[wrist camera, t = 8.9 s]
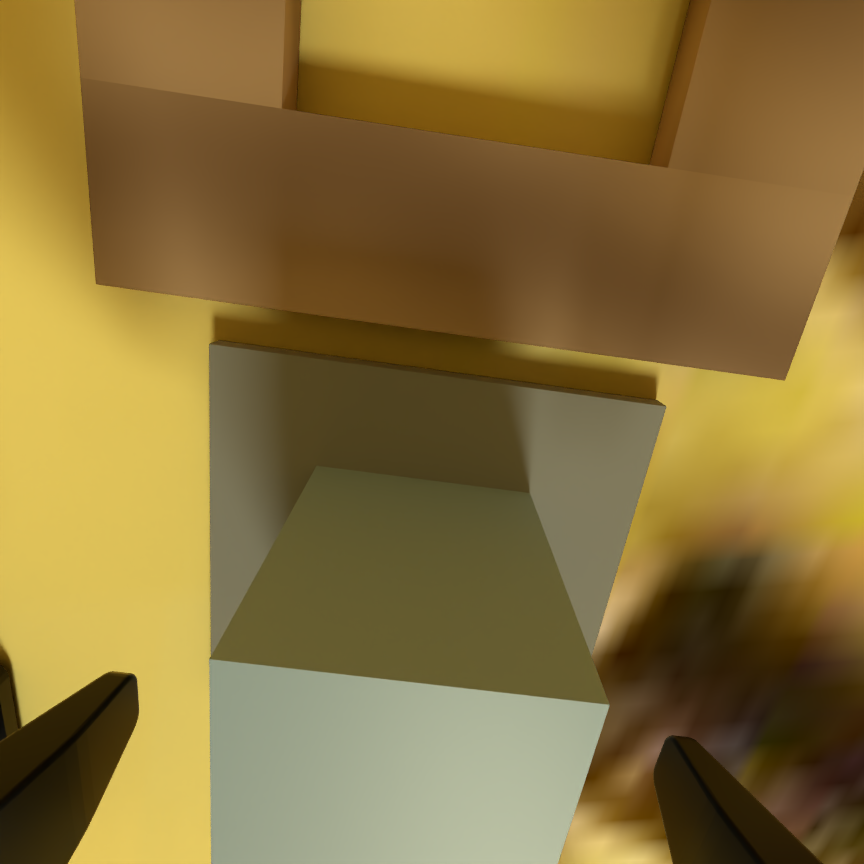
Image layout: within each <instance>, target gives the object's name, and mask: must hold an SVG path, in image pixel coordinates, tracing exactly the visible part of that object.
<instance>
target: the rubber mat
mask: <svg viewBox="0 0 864 864" xmlns="http://www.w3.org/2000/svg"><path fill="white" fill-rule="evenodd" d="M209 385H210V557H211V656H212V654H213V652H214V650H215V648H216V647H217V645H218V643H219V641H220V639H221V637H222V636H223V634H224V632H225V630H226V628H227V627H228V625H229V623H230V621H231V619H232V618H233V616H234V614H235V612H236V610H237V609H238V607H239V605H240V603H241V601H242V600H243V598H244V596H245V594H246V592H247V591H248V589H249V587H250V585H251V583H252V582H253V580H254V578H255V576H256V574H257V573H258V571H259V569H260V567H261V565H262V563H263V562H264V560H265V558H266V556H267V554H268V553H269V551H270V549H271V547H272V545H273V544H274V542H275V540H276V538H277V536H278V535H279V533H280V531H281V529H282V527H283V526H284V524H285V522H286V520H287V518H288V517H289V515H290V513H291V511H292V509H293V508H294V506H295V504H296V502H297V500H298V498H299V497H300V495H301V493H302V491H303V489H304V488H305V486H306V484H307V482H308V480H309V479H310V477H311V475H312V473H313V471H314V470H315V468H316V466H323V467H330V468H338V469H346V470H354V471H362V472H370V473H377V474H385V475H393V476H401V477H409V478H416V479H424V480H432V481H440V482H448V483H455V484H463V485H471V486H479V487H487V488H494V489H502V490H510V491H518V492H526V493H530V495H531V497H532V500H533V503H534V505H535V508H536V511H537V513H538V516H539V519H540V521H541V524H542V527H543V529H544V532H545V535H546V537H547V540H548V542H549V545H550V548H551V550H552V553H553V556H554V558H555V561H556V564H557V566H558V569H559V572H560V574H561V577H562V580H563V582H564V585H565V588H566V590H567V593H568V596H569V598H570V601H571V604H572V606H573V609H574V612H575V614H576V617H577V620H578V622H579V625H580V628H581V630H582V633H583V636H584V638H585V641H586V644H587V646H588V649H589V651H590V654H591V656H592V653H593V649H594V646H595V643H596V639H597V636H598V633H599V629H600V626H601V623H602V619H603V616H604V613H605V609H606V606H607V603H608V599H609V596H610V593H611V589H612V586H613V583H614V579H615V576H616V573H617V569H618V566H619V563H620V559H621V556H622V553H623V549H624V546H625V543H626V539H627V536H628V533H629V529H630V526H631V523H632V519H633V516H634V513H635V509H636V506H637V503H638V499H639V496H640V493H641V489H642V486H643V483H644V479H645V476H646V473H647V469H648V466H649V463H650V459H651V456H652V453H653V449H654V446H655V443H656V439H657V436H658V433H659V429H660V426H661V423H662V419H663V416H664V413H665V409H666V406H665V405H663V404H662V403H660V402H659V401H658V400H651V399H644V398H637V397H630V396H622V395H615V394H608V393H600V392H593V391H586V390H578V389H571V388H564V387H557V386H549V385H542V384H535V383H527V382H520V381H513V380H505V379H498V378H491V377H484V376H476V375H469V374H462V373H454V372H447V371H440V370H433V369H425V368H418V367H411V366H403V365H396V364H389V363H381V362H374V361H367V360H360V359H352V358H345V357H338V356H330V355H323V354H316V353H308V352H301V351H294V350H287V349H279V348H272V347H265V346H257V345H250V344H243V343H235V342H228V341H221V340H218V341H215V342H213V343H211V344H209Z"/></svg>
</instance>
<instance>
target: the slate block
mask: <svg viewBox="0 0 864 864" xmlns="http://www.w3.org/2000/svg"><path fill="white" fill-rule="evenodd" d="M209 664H210V777H211V864H558V862H559V859H560V856H561V852H562V849H563V846H564V843H565V840H566V837H567V834H568V831H569V828H570V825H571V822H572V819H573V816H574V813H575V809H576V806H577V803H578V800H579V797H580V794H581V791H582V788H583V785H584V782H585V779H586V776H587V773H588V770H589V766H590V763H591V760H592V757H593V754H594V751H595V748H596V745H597V742H598V739H599V736H600V733H601V730H602V727H603V724H604V720H605V717H606V714H607V711H608V708H609V702H608V699H607V697H606V694H605V691H604V689H603V686H602V683H601V681H600V678H599V675H598V673H597V670H596V667H595V665H594V662H593V659H592V657H591V654H590V651H589V649H588V646H587V644H586V641H585V638H584V636H583V633H582V630H581V628H580V625H579V622H578V620H577V617H576V614H575V612H574V609H573V606H572V604H571V601H570V598H569V596H568V593H567V590H566V588H565V585H564V582H563V580H562V577H561V574H560V572H559V569H558V566H557V564H556V561H555V558H554V556H553V553H552V550H551V548H550V545H549V542H548V540H547V537H546V535H545V532H544V529H543V527H542V524H541V521H540V519H539V516H538V513H537V511H536V508H535V505H534V503H533V500H532V497H531V495H530V493H526V492H518V491H510V490H502V489H494V488H487V487H479V486H471V485H463V484H455V483H448V482H440V481H432V480H424V479H416V478H409V477H401V476H393V475H385V474H377V473H370V472H362V471H354V470H346V469H338V468H330V467H323V466H316V468H315V470H314V471H313V473H312V475H311V477H310V479H309V480H308V482H307V484H306V486H305V488H304V489H303V491H302V493H301V495H300V497H299V498H298V500H297V502H296V504H295V506H294V508H293V509H292V511H291V513H290V515H289V517H288V518H287V520H286V522H285V524H284V526H283V527H282V529H281V531H280V533H279V535H278V536H277V538H276V540H275V542H274V544H273V545H272V547H271V549H270V551H269V553H268V554H267V556H266V558H265V560H264V562H263V563H262V565H261V567H260V569H259V571H258V573H257V574H256V576H255V578H254V580H253V582H252V583H251V585H250V587H249V589H248V591H247V592H246V594H245V596H244V598H243V600H242V601H241V603H240V605H239V607H238V609H237V610H236V612H235V614H234V616H233V618H232V619H231V621H230V623H229V625H228V627H227V628H226V630H225V632H224V634H223V636H222V637H221V639H220V641H219V643H218V645H217V647H216V648H215V650H214V652H213V654H212V656H211V657H210V659H209Z"/></svg>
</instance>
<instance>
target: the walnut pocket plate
mask: <svg viewBox="0 0 864 864" xmlns="http://www.w3.org/2000/svg"><path fill="white" fill-rule="evenodd" d="M75 13H76V26H77V39H78V53H79V66H80V79H81V92H82V105H83V119H84V132H85V145H86V158H87V172H88V185H89V198H90V211H91V224H92V238H93V251H94V264H95V277H96V284H98V285H105V286H113V287H120V288H127V289H134V290H141V291H148V292H156V293H163V294H170V295H177V296H184V297H191V298H199V299H206V300H213V301H220V302H227V303H234V304H241V305H249V306H256V307H263V308H270V309H277V310H284V311H292V312H299V313H306V314H313V315H320V316H327V317H335V318H342V319H349V320H356V321H363V322H370V323H377V324H385V325H392V326H399V327H406V328H413V329H420V330H428V331H435V332H442V333H449V334H456V335H463V336H471V337H478V338H485V339H492V340H499V341H506V342H514V343H521V344H528V345H535V346H542V347H549V348H556V349H564V350H571V351H578V352H585V353H592V354H599V355H607V356H614V357H621V358H628V359H635V360H642V361H650V362H657V363H664V364H671V365H678V366H685V367H692V368H700V369H707V370H714V371H721V372H728V373H735V374H743V375H750V376H757V377H764V378H771V379H778V380H785V379H786V376H787V373H788V371H789V368H790V365H791V362H792V360H793V357H794V354H795V352H796V349H797V346H798V344H799V341H800V338H801V336H802V333H803V330H804V328H805V325H806V322H807V320H808V317H809V314H810V311H811V309H812V306H813V303H814V301H815V298H816V295H817V293H818V290H819V287H820V285H821V282H822V279H823V277H824V274H825V271H826V269H827V266H828V263H829V261H830V258H831V255H832V252H833V250H834V247H835V244H836V242H837V239H838V236H839V234H840V231H841V228H842V226H843V223H844V220H845V218H846V215H847V212H848V210H849V207H850V204H851V202H852V199H853V196H854V193H855V191H856V188H857V185H858V183H859V180H860V177H861V175H862V172H863V169H864V0H690V4H689V8H688V12H687V16H686V20H685V24H684V28H683V32H682V36H681V40H680V44H679V48H678V52H677V56H676V60H675V64H674V69H673V73H672V77H671V81H670V85H669V89H668V93H667V97H666V101H665V105H664V109H663V113H662V117H661V121H660V125H659V129H658V133H657V137H656V141H655V145H654V149H653V153H652V157H651V161H650V165H646V164H639V163H633V162H626V161H620V160H613V159H607V158H600V157H594V156H587V155H581V154H574V153H568V152H561V151H555V150H548V149H542V148H535V147H529V146H522V145H516V144H509V143H503V142H496V141H489V140H483V139H476V138H470V137H463V136H457V135H450V134H444V133H437V132H431V131H424V130H418V129H411V128H405V127H398V126H392V125H385V124H379V123H372V122H366V121H359V120H353V119H346V118H340V117H333V116H327V115H320V114H314V113H307V112H301V111H297V89H298V66H299V43H300V20H301V0H75Z"/></svg>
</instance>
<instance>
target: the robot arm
mask: <svg viewBox="0 0 864 864" xmlns="http://www.w3.org/2000/svg"><path fill="white" fill-rule="evenodd" d="M138 715H139V702H138V687H137V678H136V676H135V675H134V674H132V673H124V672H114V671H112V672H108V673H106V674H104V675H102V676H101V677H99V678H97V679H96V680H94V681H93V682H91V683H90V684H88V685H87V686H85V687H84V688H82V689H80V690H79V691H77V692H76V693H74V694H73V695H71V696H70V697H68V698H67V699H65V700H63V701H62V702H60V703H59V704H57V705H56V706H54V707H53V708H51V709H50V710H48V711H46V712H45V713H43V714H42V715H40V716H39V717H37V718H36V719H34V720H33V721H31V722H29V723H28V724H26V725H25V726H23V727H22V728H20V729H19V730H18V726H17V720H16V714H15V708H14V702H13V696H12V691H11V685H10V679H9V675H8V673H7V671H6V670H5V669H4V667H3V666H1V665H0V864H68V862H69V860H70V859H71V857H72V855H73V853H74V852H75V850H76V848H77V846H78V845H79V843H80V841H81V839H82V837H83V836H84V834H85V832H86V830H87V828H88V826H89V824H90V822H91V820H92V818H93V816H94V814H95V812H96V810H97V808H98V805H99V803H100V801H101V799H102V797H103V795H104V793H105V790H106V788H107V786H108V784H109V782H110V780H111V778H112V775H113V773H114V771H115V769H116V767H117V765H118V762H119V760H120V758H121V756H122V754H123V752H124V750H125V747H126V745H127V743H128V741H129V739H130V737H131V735H132V732H133V730H134V728H135V726H136V723H137V720H138ZM654 786H655V790H656V794H657V798H658V803H659V807H660V811H661V815H662V820H663V824H664V828H665V832H666V837H667V841H668V845H669V849H670V853H671V858H672V862H673V864H823V863H822V862H821V861H820V860H819V859H818V858H816V857H815V856H814V855H813V854H812V853H811V852H810V851H809V850H808V849H807V848H806V847H805V846H804V845H803V844H802V843H801V842H800V841H799V840H798V839H797V838H796V837H795V836H794V835H793V834H792V833H791V832H790V831H789V830H788V829H787V828H786V827H785V826H784V825H783V824H781V823H780V822H779V821H778V820H777V819H776V818H775V817H774V816H773V815H772V814H771V813H770V812H769V811H768V810H767V809H766V808H765V807H764V806H763V805H762V804H761V803H760V802H759V801H758V800H757V799H756V798H755V797H754V796H753V795H752V794H751V793H750V792H749V791H748V790H746V789H745V788H744V787H743V786H742V785H741V784H740V783H739V782H738V781H737V780H736V779H735V778H734V777H733V776H732V775H731V774H730V773H729V772H728V771H727V770H726V769H725V768H724V767H723V766H722V765H721V764H720V763H719V762H718V761H717V760H716V759H715V758H714V757H713V756H711V755H710V754H709V753H708V752H707V751H706V750H705V749H704V748H703V747H702V746H701V745H700V744H699V743H698V742H697V741H696V740H694V739H692V738H689V737H682V736H673V735H672V736H669V737H667V738H666V740H665V742H664V744H663V747H662V749H661V752H660V755H659V757H658V760H657V762H656V765H655V768H654Z"/></svg>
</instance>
